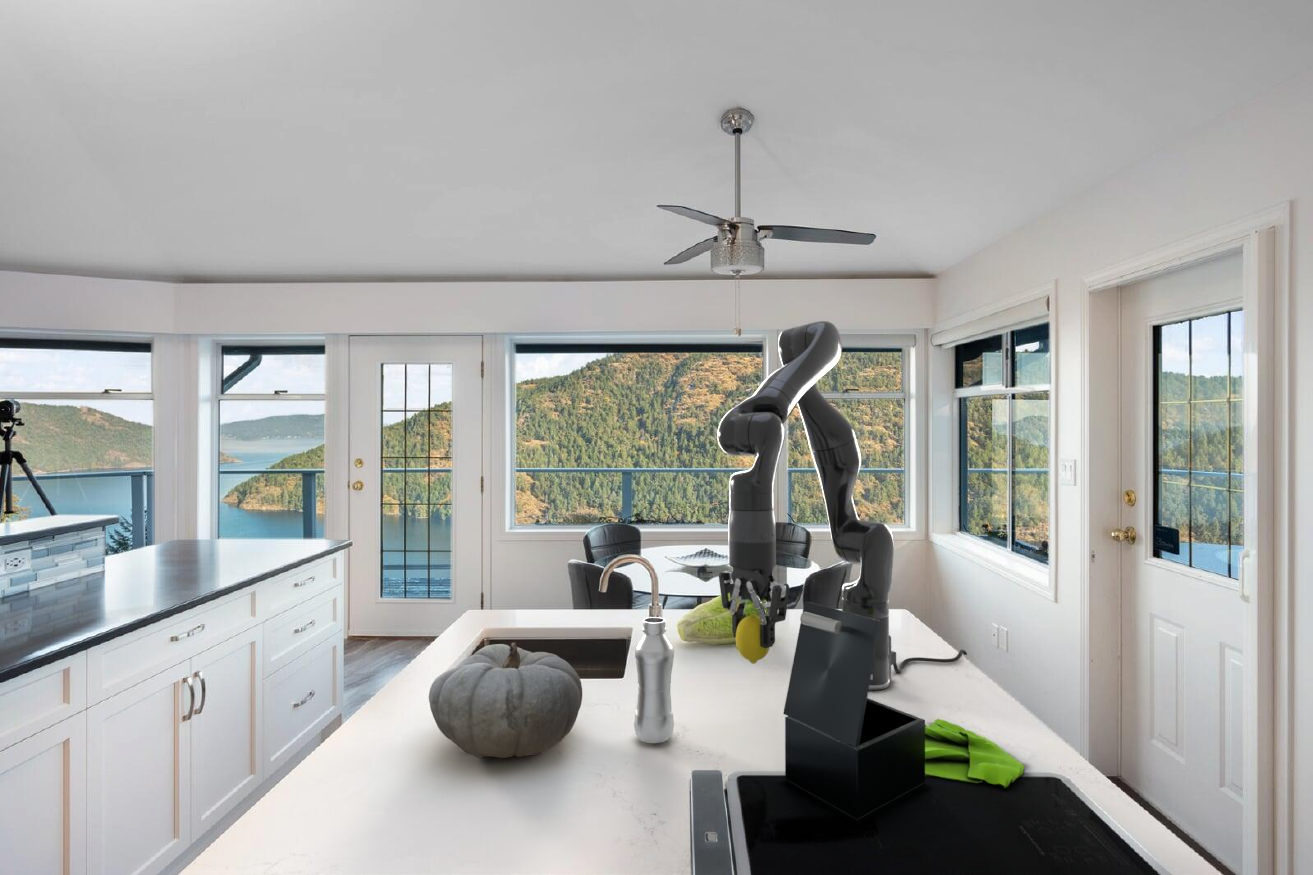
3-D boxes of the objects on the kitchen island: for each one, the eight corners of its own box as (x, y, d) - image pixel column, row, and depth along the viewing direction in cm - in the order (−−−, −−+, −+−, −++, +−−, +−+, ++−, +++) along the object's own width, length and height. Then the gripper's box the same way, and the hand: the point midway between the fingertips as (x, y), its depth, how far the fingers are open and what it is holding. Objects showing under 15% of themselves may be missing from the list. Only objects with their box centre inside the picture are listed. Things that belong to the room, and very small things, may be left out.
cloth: (1025, 799, 92) (1025, 781, 92) (864, 761, 102) (864, 745, 102) (1025, 739, 109) (1025, 725, 109) (888, 713, 120) (887, 699, 120)
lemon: (770, 670, 102) (769, 619, 102) (734, 668, 103) (733, 617, 103) (771, 658, 107) (770, 610, 107) (737, 656, 108) (736, 608, 108)
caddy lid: (808, 601, 99) (785, 597, 96) (880, 620, 88) (858, 616, 86) (786, 714, 96) (763, 712, 93) (858, 747, 86) (835, 746, 83)
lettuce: (694, 667, 152) (672, 653, 165) (785, 639, 160) (757, 627, 174) (683, 607, 152) (662, 598, 166) (774, 582, 160) (747, 575, 174)
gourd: (415, 776, 93) (430, 648, 96) (428, 730, 116) (439, 629, 120) (590, 771, 99) (598, 652, 102) (568, 729, 123) (575, 633, 126)
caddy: (852, 753, 105) (852, 692, 105) (925, 787, 95) (925, 719, 95) (785, 784, 96) (784, 717, 96) (857, 825, 85) (857, 750, 85)
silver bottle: (633, 731, 113) (632, 615, 113) (672, 730, 113) (672, 614, 113) (635, 749, 106) (634, 626, 106) (676, 747, 107) (676, 625, 107)
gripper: (802, 540, 101) (803, 649, 101) (738, 529, 113) (739, 627, 113) (767, 545, 97) (769, 659, 97) (704, 533, 109) (706, 635, 109)
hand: (753, 641), depth 105 cm, fingers closed on lemon, 5 cm apart
